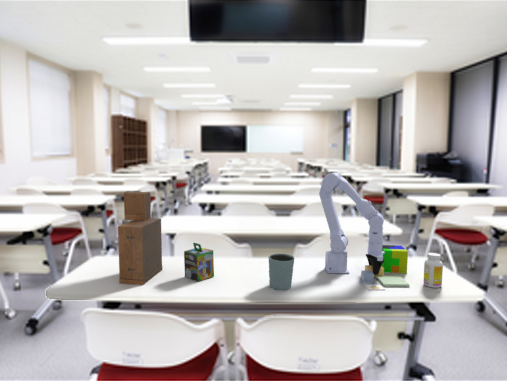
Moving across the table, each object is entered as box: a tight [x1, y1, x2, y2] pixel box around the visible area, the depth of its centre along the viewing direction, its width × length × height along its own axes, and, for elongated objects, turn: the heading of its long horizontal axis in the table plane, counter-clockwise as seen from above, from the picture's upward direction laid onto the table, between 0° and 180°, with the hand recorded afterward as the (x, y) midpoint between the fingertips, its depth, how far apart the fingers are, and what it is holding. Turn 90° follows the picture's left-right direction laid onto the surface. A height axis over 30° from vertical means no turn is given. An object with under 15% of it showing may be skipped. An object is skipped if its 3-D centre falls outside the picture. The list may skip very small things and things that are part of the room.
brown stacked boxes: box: [117, 191, 163, 286], centre depth 156 cm, size 19×14×35 cm
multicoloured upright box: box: [183, 242, 215, 283], centre depth 157 cm, size 9×9×15 cm
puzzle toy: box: [381, 244, 409, 274], centre depth 169 cm, size 10×10×10 cm
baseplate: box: [375, 275, 410, 288], centre depth 153 cm, size 10×10×1 cm
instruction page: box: [365, 284, 386, 291], centre depth 147 cm, size 6×5×1 cm
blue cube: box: [360, 270, 375, 284], centre depth 154 cm, size 4×4×4 cm
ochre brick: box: [364, 264, 385, 278], centre depth 161 cm, size 7×4×4 cm, turn 87°
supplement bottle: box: [423, 252, 444, 289], centre depth 149 cm, size 7×7×13 cm
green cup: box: [268, 253, 295, 291], centre depth 147 cm, size 10×10×12 cm
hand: (374, 272), depth 161 cm, fingers closed on ochre brick, 4 cm apart
